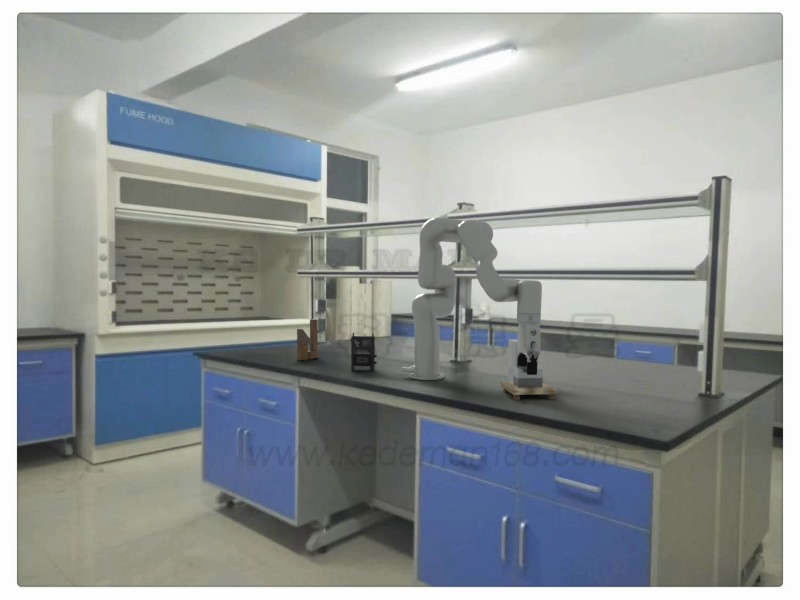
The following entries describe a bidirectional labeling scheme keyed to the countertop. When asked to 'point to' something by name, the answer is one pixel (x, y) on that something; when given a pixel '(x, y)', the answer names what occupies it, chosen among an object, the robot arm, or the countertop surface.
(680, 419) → the countertop surface
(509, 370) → the skincare box
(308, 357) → the wooden block
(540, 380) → the housing
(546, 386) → the beech stand
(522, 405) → the countertop surface
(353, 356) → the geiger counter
